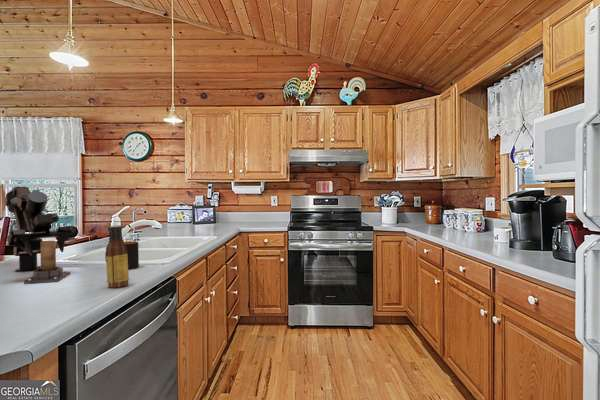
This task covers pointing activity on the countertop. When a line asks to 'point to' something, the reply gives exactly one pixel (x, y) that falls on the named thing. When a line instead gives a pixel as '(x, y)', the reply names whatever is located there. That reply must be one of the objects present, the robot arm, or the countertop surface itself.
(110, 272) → the sauce bottle
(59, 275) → the bracket
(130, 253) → the mug
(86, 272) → the countertop surface
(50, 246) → the brown round cylinder
